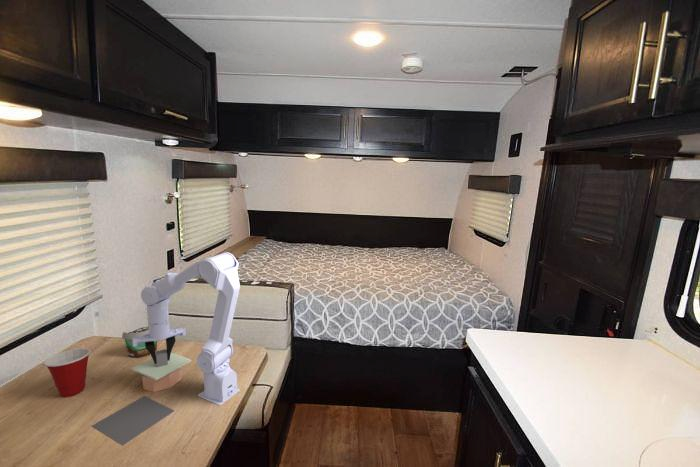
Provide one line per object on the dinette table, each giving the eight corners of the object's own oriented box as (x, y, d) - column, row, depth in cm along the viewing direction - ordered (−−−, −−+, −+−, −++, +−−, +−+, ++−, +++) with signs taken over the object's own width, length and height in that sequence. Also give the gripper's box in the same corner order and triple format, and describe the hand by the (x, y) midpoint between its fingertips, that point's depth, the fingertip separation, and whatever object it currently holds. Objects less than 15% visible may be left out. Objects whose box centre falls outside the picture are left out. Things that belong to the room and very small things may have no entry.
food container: (130, 363, 117) (128, 337, 115) (123, 357, 120) (121, 332, 119) (166, 350, 126) (164, 325, 125) (159, 345, 130) (157, 321, 129)
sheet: (191, 361, 108) (190, 348, 108) (156, 380, 98) (154, 366, 97) (167, 352, 114) (166, 340, 113) (131, 369, 103) (130, 356, 102)
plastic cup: (89, 376, 109) (85, 342, 107) (99, 389, 102) (95, 354, 100) (45, 392, 101) (40, 356, 99) (52, 408, 94) (47, 369, 92)
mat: (174, 411, 93) (174, 410, 93) (122, 446, 81) (122, 445, 81) (144, 396, 99) (144, 395, 99) (91, 427, 87) (91, 425, 87)
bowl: (189, 375, 110) (187, 361, 109) (162, 395, 100) (160, 380, 99) (164, 369, 113) (162, 356, 112) (136, 388, 103) (134, 374, 103)
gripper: (182, 311, 111) (185, 349, 113) (131, 321, 103) (134, 361, 105) (185, 319, 105) (188, 358, 107) (131, 330, 97) (135, 372, 99)
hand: (161, 360), depth 106 cm, fingers closed on sheet, 3 cm apart
